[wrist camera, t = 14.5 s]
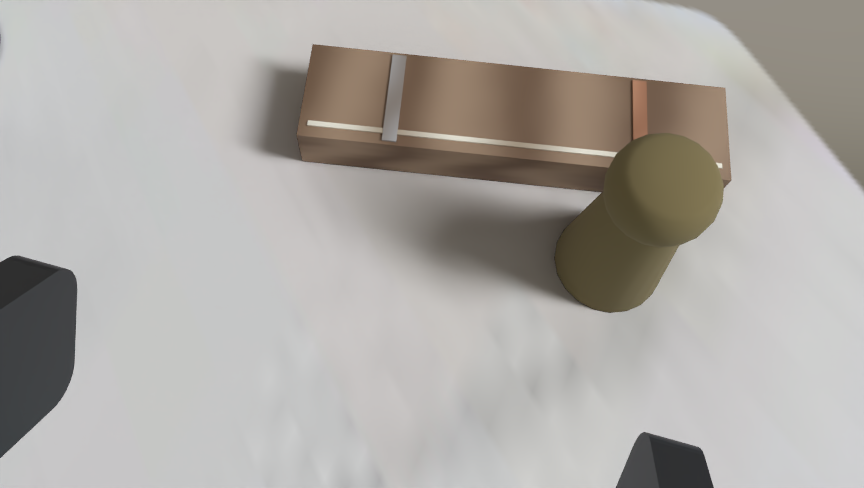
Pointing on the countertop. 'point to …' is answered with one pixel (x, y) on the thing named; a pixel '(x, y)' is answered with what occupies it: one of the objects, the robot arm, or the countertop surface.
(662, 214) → the cork
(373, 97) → the walnut plank
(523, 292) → the countertop surface
